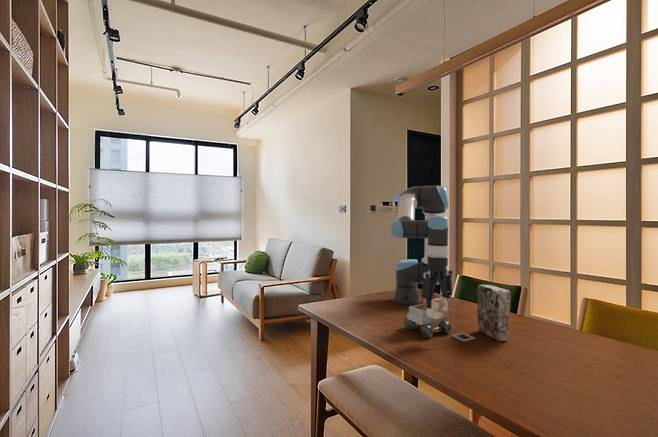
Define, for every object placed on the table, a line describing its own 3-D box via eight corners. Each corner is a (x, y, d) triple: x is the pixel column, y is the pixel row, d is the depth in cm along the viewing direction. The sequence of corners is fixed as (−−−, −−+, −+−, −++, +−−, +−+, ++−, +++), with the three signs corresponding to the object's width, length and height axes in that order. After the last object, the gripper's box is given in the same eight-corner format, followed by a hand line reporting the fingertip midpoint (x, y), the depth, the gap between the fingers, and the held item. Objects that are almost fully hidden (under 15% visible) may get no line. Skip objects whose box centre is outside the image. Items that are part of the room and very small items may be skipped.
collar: (462, 334, 140) (462, 332, 140) (475, 339, 134) (475, 337, 134) (451, 337, 137) (451, 335, 137) (464, 342, 131) (464, 340, 131)
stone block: (512, 340, 134) (512, 290, 133) (498, 342, 131) (499, 291, 131) (486, 329, 146) (486, 283, 145) (473, 331, 144) (473, 284, 143)
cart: (427, 323, 154) (427, 300, 153) (452, 334, 140) (453, 309, 140) (402, 328, 147) (402, 304, 147) (427, 340, 134) (427, 314, 134)
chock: (437, 313, 136) (438, 298, 135) (447, 316, 131) (447, 301, 131) (426, 315, 133) (426, 300, 133) (435, 319, 128) (436, 303, 128)
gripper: (448, 253, 139) (447, 309, 140) (411, 256, 130) (411, 316, 131) (462, 255, 132) (462, 314, 133) (425, 259, 123) (425, 321, 124)
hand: (437, 315), depth 132 cm, fingers closed on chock, 6 cm apart
